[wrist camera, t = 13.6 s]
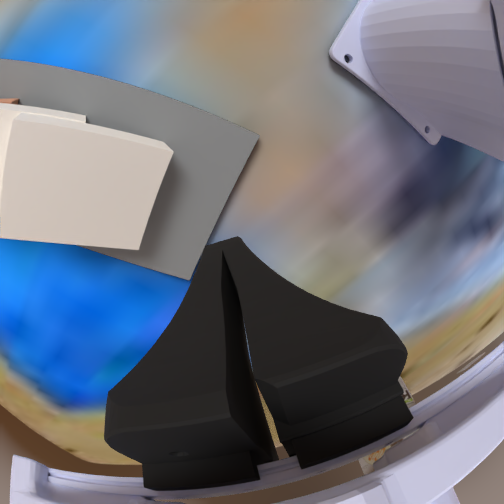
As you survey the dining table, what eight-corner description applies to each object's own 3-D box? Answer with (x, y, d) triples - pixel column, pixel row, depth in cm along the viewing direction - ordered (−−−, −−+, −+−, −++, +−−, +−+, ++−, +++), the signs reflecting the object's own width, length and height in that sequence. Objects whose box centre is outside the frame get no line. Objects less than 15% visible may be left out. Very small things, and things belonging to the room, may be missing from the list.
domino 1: (85, 121, 9) (-47, 106, 4) (62, 223, 11) (-54, 212, 6) (85, 115, 10) (-34, 100, 5) (63, 208, 12) (-45, 197, 7)
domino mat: (257, 134, 13) (259, 135, 12) (189, 275, 17) (189, 280, 16) (-51, 57, 4) (-56, 57, 4) (-70, 182, 8) (-74, 184, 7)
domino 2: (173, 151, 11) (12, 119, 6) (138, 249, 13) (0, 237, 8) (163, 141, 12) (21, 112, 7) (131, 232, 14) (6, 219, 9)
